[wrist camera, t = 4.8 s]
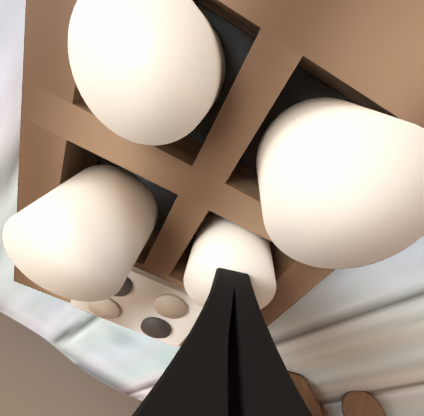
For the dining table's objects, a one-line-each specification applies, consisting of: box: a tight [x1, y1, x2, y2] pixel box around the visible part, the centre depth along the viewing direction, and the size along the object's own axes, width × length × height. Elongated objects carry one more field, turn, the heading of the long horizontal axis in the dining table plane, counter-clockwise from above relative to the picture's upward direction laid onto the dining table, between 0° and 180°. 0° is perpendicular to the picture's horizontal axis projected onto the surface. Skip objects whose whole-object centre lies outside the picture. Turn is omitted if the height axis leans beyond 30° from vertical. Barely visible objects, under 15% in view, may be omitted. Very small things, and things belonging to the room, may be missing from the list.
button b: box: [2, 165, 158, 302], centre depth 9 cm, size 4×4×4 cm
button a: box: [68, 0, 225, 146], centre depth 8 cm, size 4×4×4 cm
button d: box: [183, 211, 276, 309], centre depth 12 cm, size 4×4×4 cm
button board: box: [14, 0, 424, 347], centre depth 11 cm, size 14×20×4 cm
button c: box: [256, 97, 424, 269], centre depth 7 cm, size 4×4×4 cm
